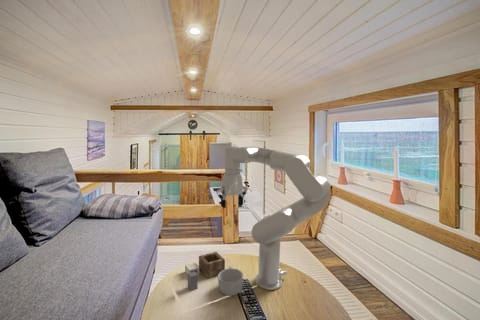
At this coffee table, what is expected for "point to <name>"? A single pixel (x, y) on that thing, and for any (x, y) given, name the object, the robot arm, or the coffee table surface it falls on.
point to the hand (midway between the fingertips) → (232, 206)
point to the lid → (192, 281)
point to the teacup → (230, 281)
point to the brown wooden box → (211, 264)
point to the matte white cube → (191, 268)
